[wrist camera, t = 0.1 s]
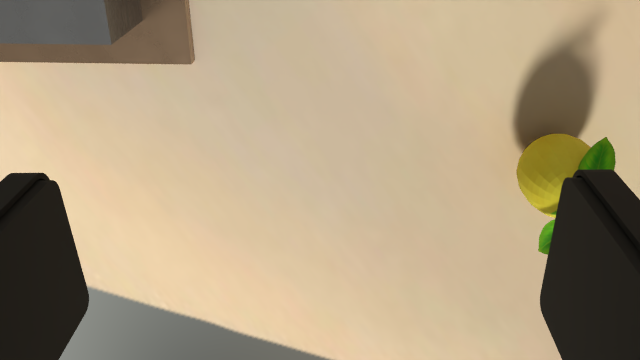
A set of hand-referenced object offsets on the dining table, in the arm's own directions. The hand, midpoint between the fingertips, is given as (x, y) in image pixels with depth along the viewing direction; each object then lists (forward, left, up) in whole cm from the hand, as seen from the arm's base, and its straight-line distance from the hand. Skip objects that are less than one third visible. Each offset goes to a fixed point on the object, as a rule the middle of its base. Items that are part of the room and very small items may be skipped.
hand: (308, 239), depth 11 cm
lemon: (+13, +16, -31) cm, 38 cm away
